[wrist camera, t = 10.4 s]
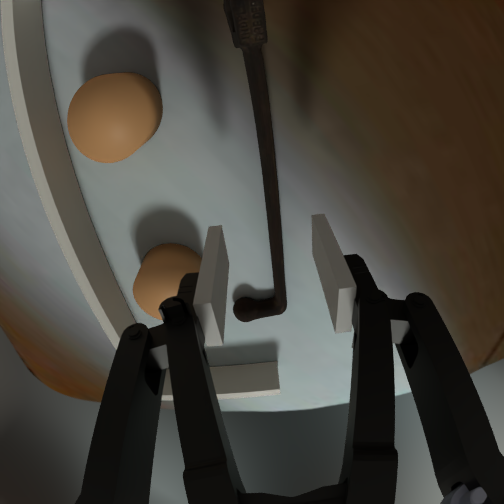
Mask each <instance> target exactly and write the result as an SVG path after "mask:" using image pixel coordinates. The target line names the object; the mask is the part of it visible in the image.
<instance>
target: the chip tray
mask: <svg viewBox="0 0 504 504" xmlns="http://www.w3.org/2000/svg"><path fill="white" fill-rule="evenodd" d="M1 23H2V36H3V46H4V55H5V62H6V69H7V76H8V82H9V87H10V92H11V98H12V102H13V107H14V112H15V116H16V120H17V124H18V128H19V132H20V136H21V140H22V143H23V147H24V150H25V154H26V157H27V160H28V163H29V167H30V170H31V173H32V176H33V179H34V182H35V185H36V187H37V190H38V193H39V196H40V198H41V201H42V204H43V206H44V209H45V212H46V214H47V217H48V219H49V222H50V224H51V226H52V229H53V231H54V234H55V236H56V238H57V240H58V243H59V245H60V247H61V249H62V252H63V254H64V256H65V258H66V260H67V262H68V264H69V266H70V268H71V271H72V273H73V275H74V277H75V279H76V281H77V282H78V284H79V286H80V288H81V290H82V292H83V294H84V296H85V298H86V300H87V301H88V303H89V305H90V307H91V309H92V310H93V312H94V314H95V316H96V317H97V319H98V321H99V323H100V324H101V326H102V328H103V329H104V331H105V333H106V334H107V336H108V338H109V339H110V341H111V343H112V344H113V346H114V347H115V349H116V350H117V347H118V344H119V341H120V338H121V335H122V333H123V331H124V330H125V329H126V328H127V327H128V326H130V325H132V324H136V322H135V320H134V318H133V316H132V314H131V312H130V310H129V308H128V306H127V303H126V301H125V299H124V297H123V295H122V293H121V291H120V289H119V286H118V284H117V282H116V280H115V278H114V275H113V273H112V271H111V269H110V266H109V264H108V262H107V259H106V257H105V255H104V252H103V250H102V247H101V245H100V242H99V240H98V237H97V235H96V232H95V230H94V227H93V224H92V222H91V219H90V216H89V214H88V211H87V208H86V205H85V203H84V200H83V197H82V194H81V191H80V188H79V185H78V182H77V179H76V176H75V172H74V169H73V166H72V163H71V159H70V156H69V152H68V149H67V145H66V142H65V138H64V134H63V130H62V126H61V122H60V118H59V114H58V110H57V105H56V101H55V96H54V91H53V86H52V81H51V76H50V70H49V64H48V58H47V52H46V45H45V37H44V28H43V18H42V6H41V0H1ZM210 371H211V375H212V379H213V383H214V387H215V391H216V395H217V399H232V398H246V397H258V396H268V395H278V394H280V385H279V375H278V366H277V361H273V362H264V363H254V364H244V365H231V366H218V367H210ZM162 400H173V394H172V387H171V380H170V372H169V369H166V375H165V381H164V387H163V393H162Z"/></svg>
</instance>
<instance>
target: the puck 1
mask: <svg viewBox="0 0 504 504" xmlns="http://www.w3.org/2000/svg"><path fill="white" fill-rule="evenodd" d="M162 113H163V105H162V100H161V96H160V94H159V91H158V90H157V88H156V87H155V85H154V84H153V83H152V82H151V81H150V80H149V79H147V78H146V77H144V76H142V75H140V74H137V73H131V72H124V73H113V74H105V75H100V76H97V77H94V78H92V79H90V80H89V81H87V82H86V83H85V84H83V85H82V86H81V87H80V88H79V89H78V91H77V92H76V93H75V95H74V97H73V98H72V101H71V103H70V106H69V110H68V117H67V123H68V130H69V134H70V137H71V139H72V141H73V143H74V145H75V146H76V147H77V149H78V150H79V151H80V152H81V153H82V154H83V155H85V156H86V157H88V158H90V159H91V160H94V161H97V162H101V163H113V162H118V161H121V160H123V159H125V158H127V157H129V156H130V155H132V154H133V153H134V152H135V151H136V150H137V149H139V148H140V147H141V146H142V145H143V144H144V143H146V142H147V141H148V140H149V139H150V138H151V137H152V136H153V135H154V134H155V132H156V131H157V129H158V127H159V125H160V122H161V119H162Z"/></svg>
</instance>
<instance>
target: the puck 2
mask: <svg viewBox="0 0 504 504" xmlns="http://www.w3.org/2000/svg"><path fill="white" fill-rule="evenodd" d="M201 261H202V258H201V257H200V256H199V255H198V254H197V253H196V252H195V251H193V250H192V249H190V248H188V247H186V246H183V245H180V244H173V243H168V244H161V245H158V246H156V247H154V248H152V249H151V250H150V251H149V252H148V253H147V254H146V256H145V258H144V260H143V262H142V265H141V267H140V269H139V272H138V274H137V277H136V279H135V282H134V284H133V295H134V298H135V300H136V302H137V304H138V305H139V306H140V307H141V309H143V310H144V311H145V312H146V313H147V314H149V315H151V316H152V317H154V318H157V319H159V320H162V317H161V315H160V313H159V310H158V309H159V306H160V304H161V303H162V302H163V301H164V300H165V299H167V298H170V297H173V296H177V294H178V293H177V292H178V288H179V284H180V281H181V279H182V278H183V277H184V275H185V274H186V273H195V272H199V271H200V266H201Z"/></svg>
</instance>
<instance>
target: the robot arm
mask: <svg viewBox="0 0 504 504" xmlns="http://www.w3.org/2000/svg"><path fill="white" fill-rule="evenodd" d="M311 216H312V252H313V257H314V261H315V264H316V267H317V271H318V274H319V277H320V281H321V284H322V288H323V291H324V294H325V298H326V301H327V305H328V309H329V312H330V316H331V319H332V323H333V327H334V330H335V334H336V333H342V332H349V331H351V328H352V325H353V328H354V337H353V343H352V348H353V360H352V377H351V391H350V403H349V414H348V424H347V434H346V442H345V449H344V457H343V465H342V469H341V474H340V477H339V482H338V484H337V485H331V486H325V487H321V488H319V489H316V490H313V491H310V492H307V493H304V494H302V495H299V496H296V497H286V496H279V495H273V494H266V493H246V490H245V488H244V486H243V483H242V481H241V478H240V475H239V472H238V469H237V466H236V462H235V459H234V456H233V452H232V449H231V446H230V442H229V439H228V436H227V432H226V428H225V425H224V421H223V418H222V414H221V410H220V406H219V403H218V399H217V395H216V391H215V387H214V383H213V379H212V375H211V371H210V367H209V363H208V359H207V355H206V351H205V349H204V343H205V341H206V344H207V347H208V346H223V342H224V327H225V313H226V299H227V285H228V273H229V260H228V255H227V250H226V245H225V240H224V235H223V230H222V225H219V226H211V227H209V228H208V233H207V237H206V242H205V247H204V251H203V256H202V261H201V266H200V271H199V272H195V273H186V274H185V275H184V277H183V278H182V279H181V281H180V284H179V288H178V292H177V293H178V294H177V296H173V297H170V298H167V299H165V300H164V301H163V302H162V303H161V304H160V306H159V309H158V310H159V313H160V315H161V317H162V320H163V322H164V323H163V324H161V325H159V326H156V327H152V328H149V329H148V328H147V326H146V325H144V324H142V323H136V324H132V325H130V326H128V327H127V328H126V329H125V330H124V331H123V333H122V335H121V338H120V341H119V344H118V347H117V350H116V354H115V357H114V360H113V363H112V367H111V370H110V373H109V377H108V380H107V383H106V387H105V390H104V394H103V398H102V401H101V405H100V409H99V413H98V417H97V421H96V425H95V428H94V433H93V437H92V441H91V446H90V450H89V455H88V459H87V464H86V469H85V474H84V479H83V485H82V491H81V495H80V496H79V497H78V499H77V501H76V503H75V504H149V495H150V484H151V475H152V466H153V458H154V449H155V442H156V434H157V427H158V420H159V412H160V406H161V400H162V393H163V387H164V381H165V375H166V369H167V368H169V372H170V380H171V387H172V394H173V401H174V407H175V414H176V420H177V426H178V432H179V437H180V443H181V448H182V453H183V458H184V463H185V470H184V472H183V480H184V485H185V490H186V494H187V498H188V503H189V504H394V502H395V492H396V482H397V468H398V453H397V450H396V449H395V447H394V433H395V384H394V360H393V344H392V343H395V345H396V348H397V351H398V353H399V356H400V359H401V362H402V364H403V367H404V370H405V373H406V376H407V379H408V382H409V385H410V388H411V391H412V394H413V397H414V400H415V403H416V406H417V410H418V413H419V416H420V419H421V423H422V426H423V430H424V433H425V437H426V440H427V444H428V447H429V452H430V455H431V459H432V463H433V468H434V472H435V476H436V479H437V482H438V485H439V488H440V490H441V492H442V495H443V497H444V499H443V500H442V502H441V503H440V504H504V456H503V455H502V454H501V453H500V451H499V449H498V446H497V443H496V440H495V437H494V434H493V431H492V428H491V426H490V423H489V420H488V417H487V415H486V412H485V410H484V407H483V405H482V402H481V400H480V397H479V395H478V393H477V390H476V388H475V386H474V384H473V381H472V379H471V377H470V374H469V372H468V370H467V368H466V366H465V363H464V361H463V359H462V357H461V355H460V353H459V351H458V349H457V347H456V345H455V343H454V341H453V339H452V337H451V335H450V333H449V331H448V329H447V327H446V325H445V323H444V322H443V320H442V318H441V316H440V314H439V312H438V311H437V309H436V307H435V305H434V303H433V302H432V300H431V299H430V298H429V296H427V295H425V294H423V293H419V292H414V293H411V294H409V295H408V296H407V297H406V299H405V300H395V299H390V298H388V297H387V295H386V294H385V293H384V292H383V291H381V290H378V288H377V286H376V284H375V282H374V280H373V277H372V275H371V273H370V272H369V269H368V267H367V265H366V264H365V262H364V260H363V259H362V258H361V257H360V256H359V255H357V254H352V255H343V254H342V251H341V249H340V247H339V245H338V242H337V240H336V238H335V236H334V234H333V232H332V229H331V227H330V225H329V223H328V221H327V219H326V217H325V214H318V215H311Z"/></svg>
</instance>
